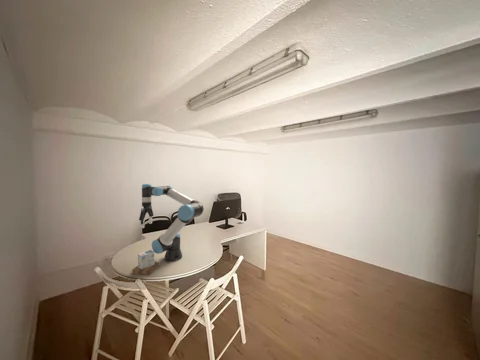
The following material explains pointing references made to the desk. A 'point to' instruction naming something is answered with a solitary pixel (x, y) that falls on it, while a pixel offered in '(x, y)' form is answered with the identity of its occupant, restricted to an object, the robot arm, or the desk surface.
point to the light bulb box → (145, 259)
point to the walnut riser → (145, 269)
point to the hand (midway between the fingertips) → (146, 225)
